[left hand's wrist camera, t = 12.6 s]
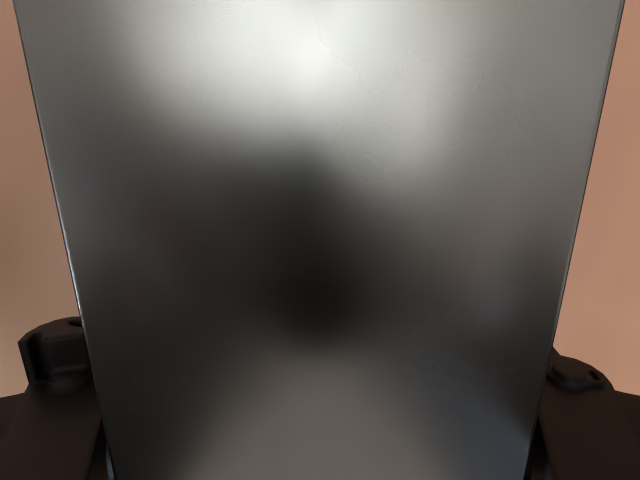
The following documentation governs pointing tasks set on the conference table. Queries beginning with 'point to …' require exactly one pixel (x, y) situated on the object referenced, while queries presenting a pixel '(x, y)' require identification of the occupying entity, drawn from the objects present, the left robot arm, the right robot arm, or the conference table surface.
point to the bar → (319, 224)
